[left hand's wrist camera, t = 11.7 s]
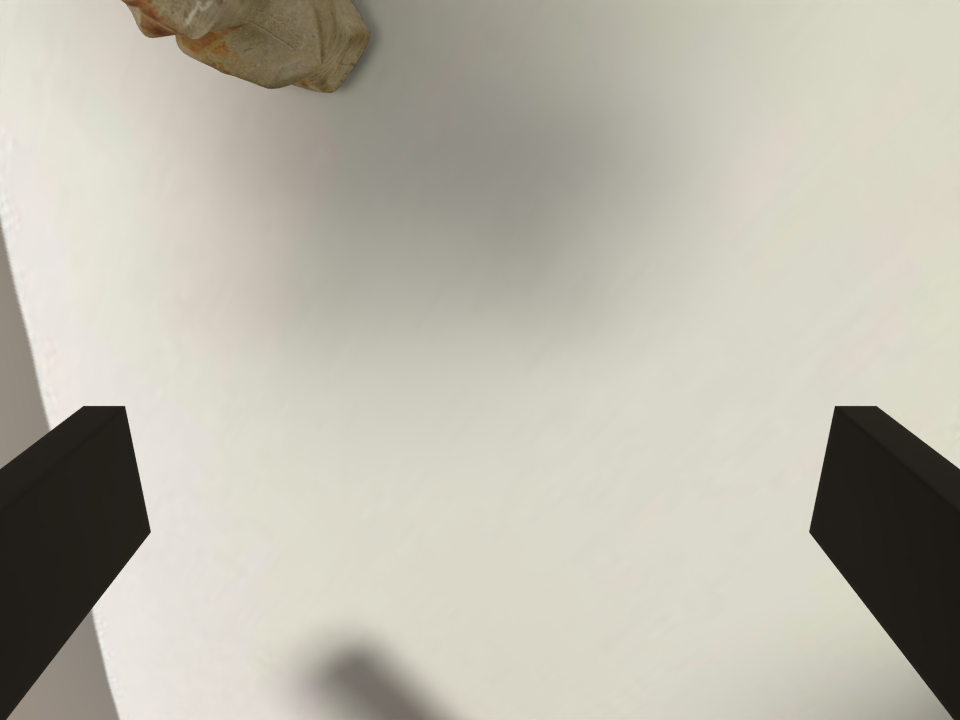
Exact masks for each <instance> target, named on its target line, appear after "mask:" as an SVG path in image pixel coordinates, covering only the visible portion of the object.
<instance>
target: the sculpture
mask: <svg viewBox="0 0 960 720" xmlns="http://www.w3.org/2000/svg"><path fill="white" fill-rule="evenodd" d="M122 1H123V2H124V3H126V5H127V6H128V8H129V9H130V10H131V12H132V14H133V16H134V18H135V21H136V23H137V25H138V27H139V29H140V31H141V32H142V33H143V34H144V35H145V36H147V37H149V38H157V37H164V36H171V35H176V42H177V44H178V47H179V48H180V49H181V51H182V52H183V53H185V54H186V55H188V56H190V57H191V58H194V59H196V60H198V61H200V62H202V63H204V64H206V65H209V66H211V67H213V68H215V69H217V70H218V71H220V72H222V73H225V74H228V75H232V76H235V77H238V78H241V79H243V80H246V81H249V82H252V83H254V84H257V85H259V86H262V87H265V88H268V89H276V88H281V87H285V86H288V85H291V84H292V85H295V86H299V87H302V88H305V89H309V90H313V91H317V92H325V93H332V92H334V91H336V90H337V89H338V87H339V86H340V85H341V84H342V83H343V81H344V80H345V79H346V77H347V76H348V75H349V73H350V72H351V70H352V69H353V67H354V66H355V64H356V63H357V61H358V60H359V58H360V56H361V55H362V53H363V51H364V49H365V47H366V45H367V43H368V40H369V37H370V33H369V30H368V28H367V26H366V24H365V22H364V21H363V19H362V17H361V15H360V14H359V12H358V10H357V9H356V7H355V6H354V5H353V3H352V2H351V0H122Z"/></svg>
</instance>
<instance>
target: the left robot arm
mask: <svg viewBox="0 0 960 720" xmlns="http://www.w3.org/2000/svg"><path fill="white" fill-rule="evenodd" d="M150 533H151V530H150V526H149V521H148V516H147V511H146V506H145V501H144V496H143V492H142V487H141V482H140V477H139V472H138V467H137V462H136V457H135V453H134V448H133V443H132V438H131V433H130V428H129V423H128V418H127V414H126V409H125V406H83V407H82V408H80V409H79V410H78V411H76V412H75V413H74V414H72V415H71V416H70V417H69V418H67V419H66V420H65V421H63V422H62V423H61V424H59V425H58V426H57V427H55V428H54V429H53V430H51V431H50V432H49V433H47V434H46V435H45V436H44V437H42V438H41V439H40V440H38V441H37V442H36V443H34V444H33V445H32V446H30V447H29V448H28V449H26V450H25V451H24V452H22V453H21V454H20V455H18V456H17V457H16V458H14V459H13V460H12V461H11V462H9V463H8V464H7V465H5V466H4V467H3V468H1V469H0V720H6V719H7V718H8V716H9V715H10V714H11V713H12V711H13V710H14V709H15V707H16V706H17V705H18V704H19V702H20V701H21V700H22V698H23V697H24V696H25V694H26V693H27V692H28V691H29V689H30V688H31V687H32V685H33V684H34V683H35V682H36V680H37V679H38V678H39V676H40V675H41V674H42V672H43V671H44V670H45V669H46V667H47V666H48V665H49V663H50V662H51V661H52V660H53V658H54V657H55V656H56V654H57V653H58V652H59V650H60V649H61V648H62V647H63V645H64V644H65V643H66V641H67V640H68V639H69V637H70V636H71V635H72V634H73V632H74V631H75V630H76V628H77V627H78V626H79V625H80V623H81V622H82V621H83V619H84V618H85V617H86V615H87V614H88V613H89V612H90V610H91V609H92V608H93V606H94V605H95V604H96V603H97V601H98V600H99V599H100V597H101V596H102V595H103V593H104V592H105V591H106V590H107V588H108V587H109V586H110V584H111V583H112V582H113V580H114V579H115V578H116V577H117V575H118V574H119V573H120V571H121V570H122V569H123V568H124V566H125V565H126V564H127V562H128V561H129V560H130V558H131V557H132V556H133V555H134V553H135V552H136V551H137V549H138V548H139V547H140V545H141V544H142V543H143V542H144V540H145V539H146V538H147V536H148V535H149V534H150ZM809 533H810V534H811V535H812V536H813V538H814V539H815V540H816V542H817V543H818V544H819V545H820V547H821V548H822V549H823V551H824V552H825V553H826V555H827V556H828V557H829V558H830V560H831V561H832V562H833V564H834V565H835V566H836V568H837V569H838V570H839V571H840V573H841V574H842V575H843V577H844V578H845V579H846V580H847V582H848V583H849V584H850V586H851V587H852V588H853V590H854V591H855V592H856V593H857V595H858V596H859V597H860V599H861V600H862V601H863V603H864V604H865V605H866V606H867V608H868V609H869V610H870V612H871V613H872V614H873V615H874V617H875V618H876V619H877V621H878V622H879V623H880V625H881V626H882V627H883V628H884V630H885V631H886V632H887V634H888V635H889V636H890V638H891V639H892V640H893V641H894V643H895V644H896V645H897V647H898V648H899V649H900V650H901V652H902V653H903V654H904V656H905V657H906V658H907V660H908V661H909V662H910V663H911V665H912V666H913V667H914V669H915V670H916V671H917V673H918V674H919V675H920V676H921V678H922V679H923V680H924V682H925V683H926V684H927V685H928V687H929V688H930V689H931V691H932V692H933V693H934V695H935V696H936V697H937V698H938V700H939V701H940V702H941V704H942V705H943V706H944V707H945V709H946V710H947V711H948V713H949V714H950V715H951V717H952V718H953V719H954V720H960V469H959V468H957V467H956V466H955V465H953V464H952V463H951V462H949V461H948V460H947V459H946V458H944V457H943V456H942V455H940V454H939V453H938V452H936V451H935V450H934V449H932V448H931V447H930V446H928V445H927V444H926V443H924V442H923V441H922V440H920V439H919V438H918V437H917V436H915V435H914V434H913V433H911V432H910V431H909V430H907V429H906V428H905V427H903V426H902V425H901V424H899V423H898V422H897V421H895V420H894V419H893V418H891V417H890V416H889V415H888V414H886V413H885V412H884V411H882V410H881V409H880V408H878V407H877V406H835V409H834V414H833V418H832V423H831V428H830V433H829V438H828V443H827V448H826V453H825V457H824V462H823V467H822V472H821V477H820V482H819V487H818V492H817V496H816V501H815V506H814V511H813V516H812V521H811V526H810V530H809Z"/></svg>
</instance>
